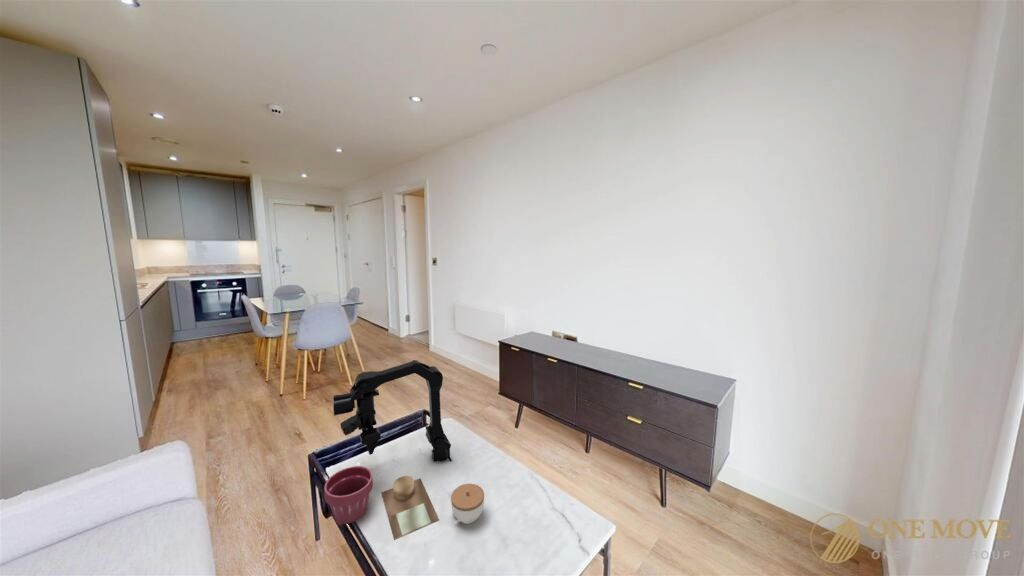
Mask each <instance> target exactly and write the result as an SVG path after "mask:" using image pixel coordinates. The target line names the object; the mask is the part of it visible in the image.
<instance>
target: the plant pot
mask: <svg viewBox="0 0 1024 576" xmlns="http://www.w3.org/2000/svg"><path fill="white" fill-rule="evenodd" d="M373 479H374V478H373V473H372V471H371V470H370V469H369V468H367V467H366V466H363V465H362V466H361V465H360V466H358V465H357V466H356V465H355V466H350V467H346V468H343V469H341V470H340V469H339V470H338V471H337V472H335V473H334V474H332V475H331V476H330V477H329V478H328V479H327V480H326V482H325V484H324V488H323V489H324V490H323V491H324V500H325V503H326V504H327V505H329V507H330V509H331V510H330V511H331V512H332V515H333V517H334V518H333V519H334V521H335V522H336V525H338V526H340V527H343V525H348V524H352V523H354V522H356V521H358V520H360V518H362V517H363V516H364V515H365V513H366V511H367V509H368V503H369V497H370V493H371V491H372V490H373V486H374V485H373V483H374V481H373Z"/></svg>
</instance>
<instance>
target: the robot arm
mask: <svg viewBox="0 0 1024 576" xmlns="http://www.w3.org/2000/svg"><path fill="white" fill-rule="evenodd" d="M413 374H416V375H418V376H419V377H421V378H422V379H424V380H425V382H426V385H427V389H428V401H429V404H428V405H429V424H428V425H427V426H425V436H426V439H427V441H428V443H429V444H430V445H431V447H432V450H431V460H432V461H433V462H435V463H436V462H445V461H447V460H449V462H452V460H453V459H452V458H451V446H452V444H451V443H450V440H449V439H448V437H447V435H446V434H445V432H444V429H443V426H442V418H441V417H442V416H441V414H442V413H441V389H442V386H443V382H444V380H443V379H444V375H443V373H442V372H441V371H440V369H439V368H438V367H437V366H434V365H431V366H430V365H428V364H425V363H423V362H420V361H419V360H417V359H413V360H412V361H409V362H406V363H403V364H400V365H397V366H393V367H390V368H386V369H383V370H379V371H375V370H373V371H371V370H369V371H365V372H361V373H359V374H357V375H356V377H355V379H354V383H353V385H352V386H351V388H350V389H349V392H348V393H342V394H336V395H333V416H334V417H335V416H339V415H344V414H348V413H352V412H353V411H354V409H356V411H355V415H352V416H350V417H348V418H347V419H345V420H343V421H341V422H340V424H339V425H340V429H341V431H342V432H343V434H344V435H345V436H349V435H350V434H352V433H354V432H355V431H356V430H357V429H358V431H362V432H360V435H359V438H360V443H361V445H366V449H367V451H368V452H367V453H368V455H373V453H374V452H375V449H376V447H377V445H378V442H379V441H380V440H381V438H382V437H381V436H382V435H381V431H380V429H379V428H377V427H374V426H376V425H377V420H376V414H377V412H376V411H377V410H375V397H378V396H379V395H380V392H379V390H378V389H377V388H380V386H381V385H383V384H386V383H389V382H392V381H396V380H399V379H401V378H404V377H408V376H410V375H413ZM355 401H356V403H355Z"/></svg>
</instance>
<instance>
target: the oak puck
mask: <svg viewBox="0 0 1024 576" xmlns="http://www.w3.org/2000/svg"><path fill="white" fill-rule="evenodd" d="M414 480H415V479H414V478H413V477H412V476H410V475H405V476H404V475H403V476H401V477H399V478H397V479H396V480H394V482H393V486H392V488H393V490H394V498H395V499H396V500H399V501H404V500H407V499H409V498H411V497H412V496H413V494H414V492H415V490H414Z"/></svg>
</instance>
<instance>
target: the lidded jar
mask: <svg viewBox="0 0 1024 576" xmlns="http://www.w3.org/2000/svg"><path fill="white" fill-rule="evenodd" d="M450 502H451V509H452V513H453V515H454V518H456V520H457V521H459V522H460V523H461V524H463V525H470V524H472V523H474V522H476V520H478V519H479V517H480V516H481V514H482V512H483V509H484V504H485V491H484V490H483V488H482V487H481V486H479V485H478V484H475V483H465V484H460V485H459V486H457V487H456V488H455V489H453V491H452V492H451V496H450Z"/></svg>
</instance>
